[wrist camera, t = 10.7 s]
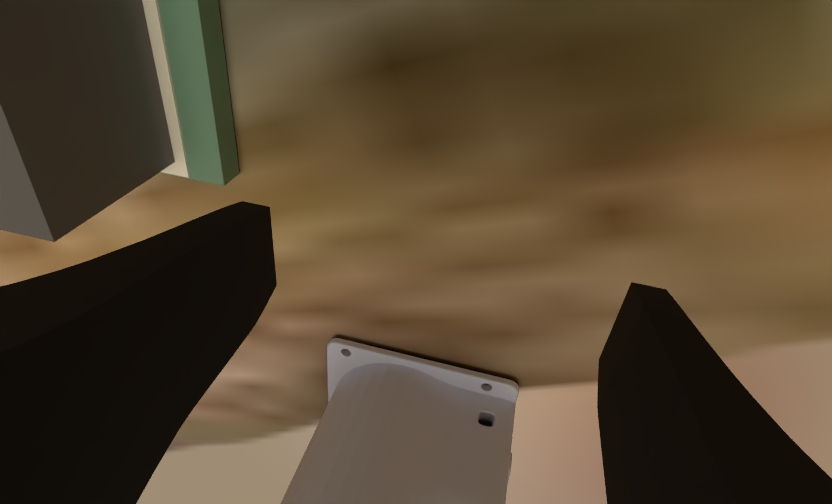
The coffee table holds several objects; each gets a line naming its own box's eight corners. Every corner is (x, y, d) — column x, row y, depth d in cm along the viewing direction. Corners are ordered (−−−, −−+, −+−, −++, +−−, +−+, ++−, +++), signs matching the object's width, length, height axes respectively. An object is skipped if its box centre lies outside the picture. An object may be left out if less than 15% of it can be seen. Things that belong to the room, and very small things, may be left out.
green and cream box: (203, -119, 16) (86, -126, 12) (239, 173, 22) (168, 232, 18) (-17, -144, 17) (-188, -158, 13) (73, 140, 23) (-28, 188, 19)
